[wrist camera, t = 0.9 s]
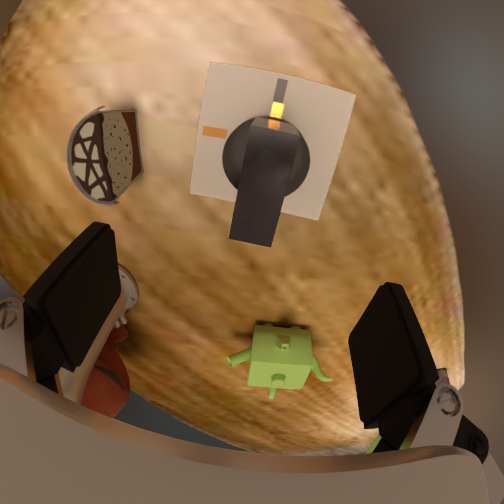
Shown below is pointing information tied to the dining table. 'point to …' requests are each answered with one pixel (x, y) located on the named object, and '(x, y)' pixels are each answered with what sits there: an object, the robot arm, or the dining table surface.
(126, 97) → the dining table surface
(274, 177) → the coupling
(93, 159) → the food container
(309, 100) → the post base
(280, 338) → the kettle
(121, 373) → the goblet
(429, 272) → the dining table surface
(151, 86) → the dining table surface
